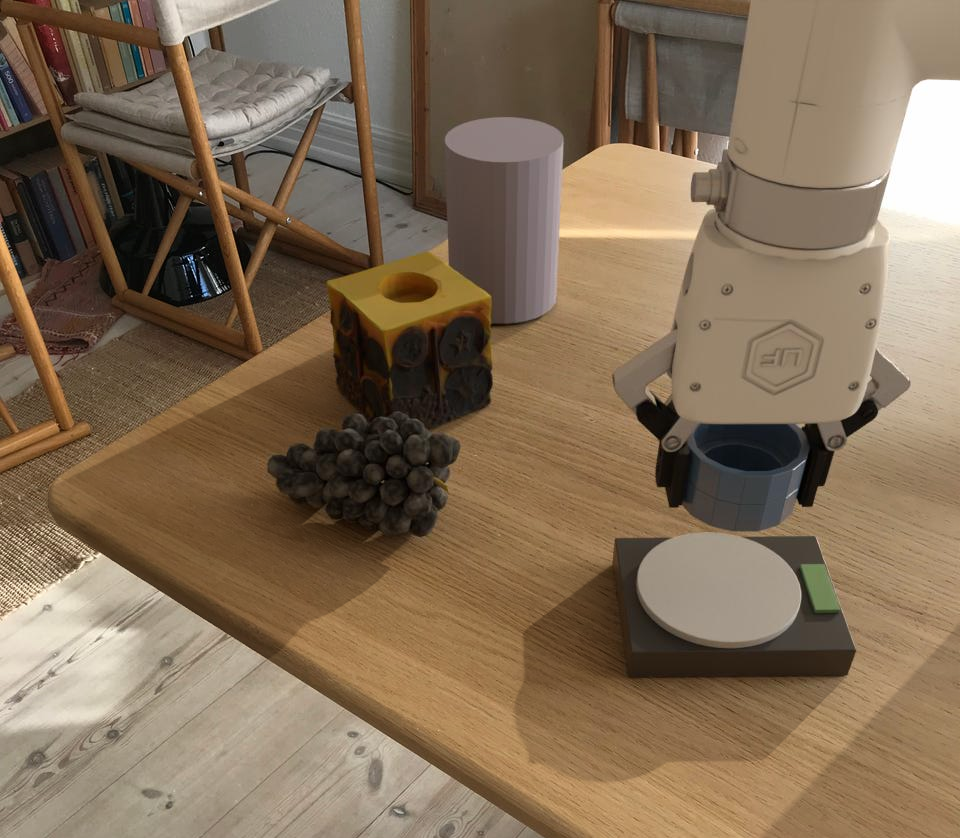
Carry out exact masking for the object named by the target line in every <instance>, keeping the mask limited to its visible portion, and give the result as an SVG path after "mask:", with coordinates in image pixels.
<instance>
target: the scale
mask: <svg viewBox="0 0 960 838" xmlns="http://www.w3.org/2000/svg"><path fill="white" fill-rule="evenodd" d="M611 563H612V564H611V565H612V571H613V579H614V585H615V586H614V587H615V594H616V601H617V607H618V608H617V609H618V614H619V615H618V616H619V622H620V629H621V636H622V641H623V642H622V643H623V650H624V656H625V665H626V672H627V678H629V677H636V678H685V677H684V676H688V677H687V678H718V677H719V678H726V677H727V678H730V677H737V678H738V677H821V676H822V677H823V676H824V677H829V676H830V677H832V676H834V677H836V676H838V677H840V676H843V677H844V676H848V675H849V672H850V670H851V667H852V664H853V661H854V658H855V656H856V654H857V647H856V644H855V641H854V638H853V636H852V633H851V630H850V627H849V624H848V621H847V619H846V616H845V613H844V610H843V607H842V605H841V602H840V599H839V596H838V593H837V591H836V588H835V584H834V582H833V580H832V576H831V573H830V571H829V568H828V565H827V563H826V560H825V556H824V554H823V551H822V549H821V545H820V542H819V541H818V537H817V536H816V535H787V536H785V535H784V536H783V535H781V536H779V535H778V536H777V535H776V536H739V535H735V534H730V533H723V532H716V531H715V532H713V531H712V532H710V531H704V532H703V531H702V532H692V533H691V532H690V533H685V534H681V535H677V536H673V537H615V538H614V544H613V554H612V562H611ZM650 676H651V677H650ZM659 676H660V677H659ZM668 676H669V677H668ZM676 676H678V677H676ZM692 676H694V677H692Z"/></svg>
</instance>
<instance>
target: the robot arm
mask: <svg viewBox="0 0 960 838" xmlns="http://www.w3.org/2000/svg"><path fill="white" fill-rule="evenodd" d="M748 10H749V11H748V16H747V22H746V29H745V36H744V42H743V47H742V54H741V59H740V67H739V73H738V74H739V75H738V79H737V87H736V93H735V99H734V106H733V112H732V117H731V125H730V129H729V130H730V131H729V136H728V143H727V149H726V148H725V149H724V148H723V150H722V155H721V161H718V163H717V165H716V168H709V170H708V171H694V172H693V174H692V176H691V182H690V201H691V203H705V204H706V205H707V206H713V208H711V209H709V210H708V211H707V212H706V213H705V214H704V216H703V219H702V221H701V223H700V226H699V228H698V232H697V233H696V237H695V240H694V241H693V245H692V248H691V252H690V254H689V258H688V261H687V264H686V267H685V271H684V275H683V279H682V282H681V286H680V289H679V294H678V297H677V302H676V306H675V311H674V314H673V320H672V325H671V329H670V332H669V333H667V334H666V335H664V336H663V337H661V338H660V339H658V340H657V341H655V342H654V343H653V344H651V345H649V346H648V347H646V348H645V349H644V350H643V351H641V352H639V353H638V354H637V355H635V356H634V357H632V358H631V359H629V360H628V361H626V362H625V363H624V364H622V365H620V366H619V367H618V368H616V369H615V370H614V371H613V372H612V375H611V379H612V385H613V390H614V392H615V394H616V395H617V396H618V397H619V398H620V400H621V401H622V402H623V403H624V404H625V405H626V406H627V408H628V409H629V410H630V411H631V412H633V413H634V415H635V416H636V419H637V421H638V422H639V423H640V424H641V425H642V426H643V427H644V428H645V429H646V430H647V431H649V432H650V433H651V434H652V435H653V436H654V437H655V438H656V439H657V440H658V441H659V442H658V448H657V454H656V455H657V456H656V462H655V471H654V476H655V477H654V478H655V484H656V487H657V488H664V490H665V495H666V499H667V504H668V508H669V509H678V508H680V506H682V502H683V496H684V491H685V485H686V479H687V473H688V467H689V461H690V451H689V447H688V443H687V440H688V438H689V437H690V436H691V435H692V433H693V432H694V431H695V430H696V428H697V427H698V426H699V425H700V423H702V424H796V425H799V424H800V425H804V426H801V427H800V428H801V429H802V430H803V431H804V432H805V434H806V436H807V439H808V441H809V444H810V451H809V455H808V458H807V462H806V466H805V470H804V473H803V477H802V481H801V484H800V488H799V492H798V496H797V499H796V502H797V504H798V505H800V506H801V507H802V508H812V507H813V506H814V503H815V499H816V496H817V492H818V489H819V487H824V486H825V485H826V482H827V480H828V475H829V472H830V469H831V465H832V462H833V458H834V455H835V452H836V451H839V450H842V449H843V448H845V446H846V444H847V442H848V437H850V436H852V435H853V434H854V433H856V432H858V431H859V430H860V429H862V428H863V427H865V426H866V425H867V424H869V423H871V422H872V421H874V420H875V419H876V418H877V416H878V414H879V411H880V410H881V409H885V408H887V407H888V406H889V405H890V404H891V403H893V402H894V401H895V400H896V399H898V398H900V396H902V395H903V394H904V393H906V392H907V391H908V390H909V389H910V388H911V380H910V378H909V377H908V374H907V373H906V371H905V369H904V367H903V366H902V365H900V363H898V361H897V360H895V359H894V358H893V357H892V356H891V355H890V354H889V353H888V352H887V351H886V350H884V349H883V347H881V345H879V344H878V338H879V334H880V329H881V323H882V316H883V310H884V304H885V298H886V291H887V284H888V275H889V265H890V253H891V234H890V232H889V231H888V229H887V228H886V226H884V225H883V223H882V222H881V221H880V220H879V219H878V218H879V215H880V210H881V207H882V203H883V199H884V197H885V196H884V195H885V192H886V188H887V184H888V180H889V177H890V173H891V169H892V164H893V161H894V157H895V154H896V151H897V146H898V143H899V139H900V136H901V132H902V128H903V125H904V121H905V117H906V113H907V110H908V106H909V103H910V100H911V96H912V92H913V90H914V88H915V87H916V85H918V84H919V83H921V82H924V81H927V80H933V81H934V80H937V81H960V0H750V4H749V9H748ZM666 373H667V376H668V377H669V379H671V393H670V395H668V397H667V399H666V401H665V402H663V401H662V400H661V399H660V398H659V397H658V396H657V395H656V394H655V393H654V392H652V391H651V390H649V388H648V387H647V386H648V385H650V383H652V382H653V381H655V380H657V379H658V378H660V377H661V376H663V375H665V374H666ZM870 377H871V379H870Z"/></svg>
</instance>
